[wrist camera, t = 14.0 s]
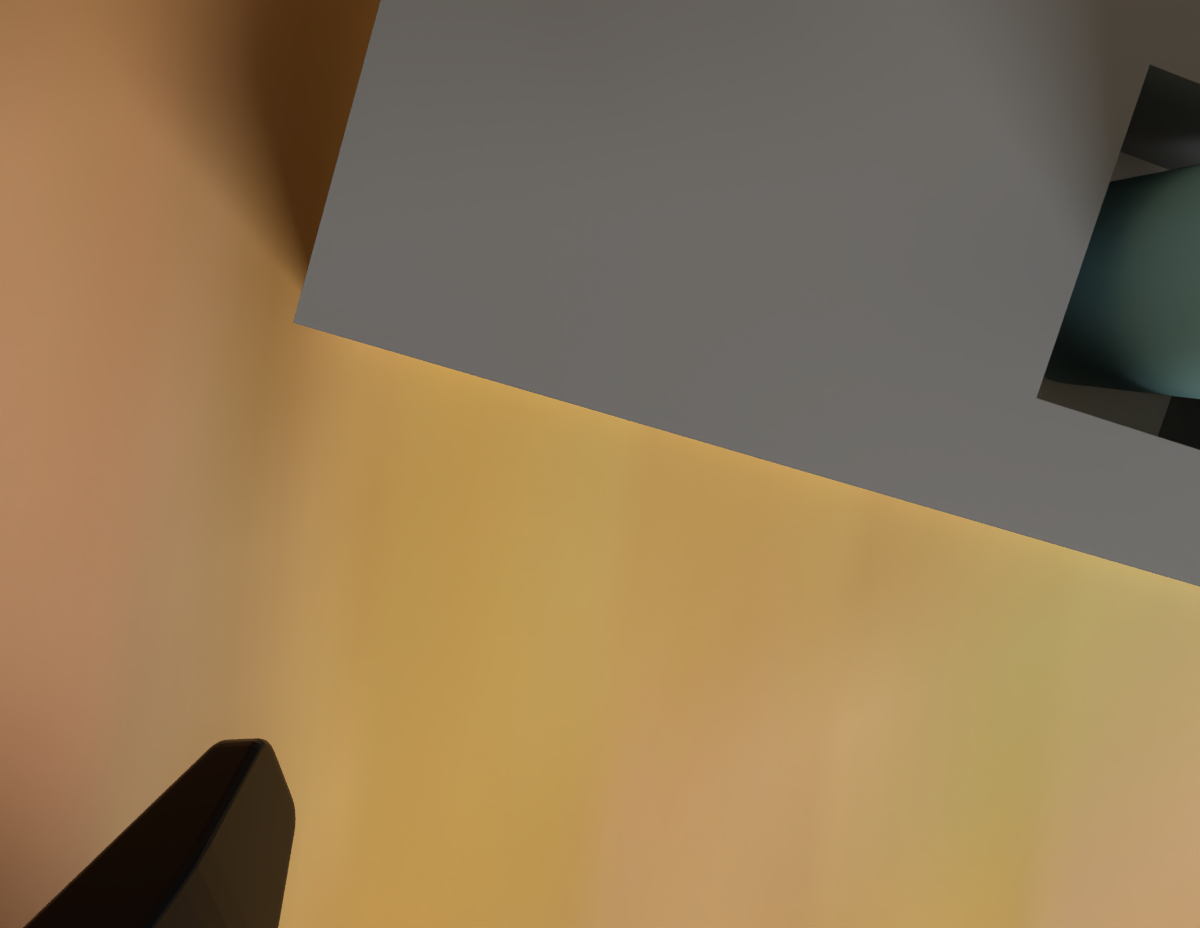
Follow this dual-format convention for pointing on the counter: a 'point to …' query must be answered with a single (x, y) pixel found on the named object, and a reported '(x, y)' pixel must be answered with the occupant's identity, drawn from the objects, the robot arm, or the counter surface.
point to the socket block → (783, 234)
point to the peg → (1138, 292)
